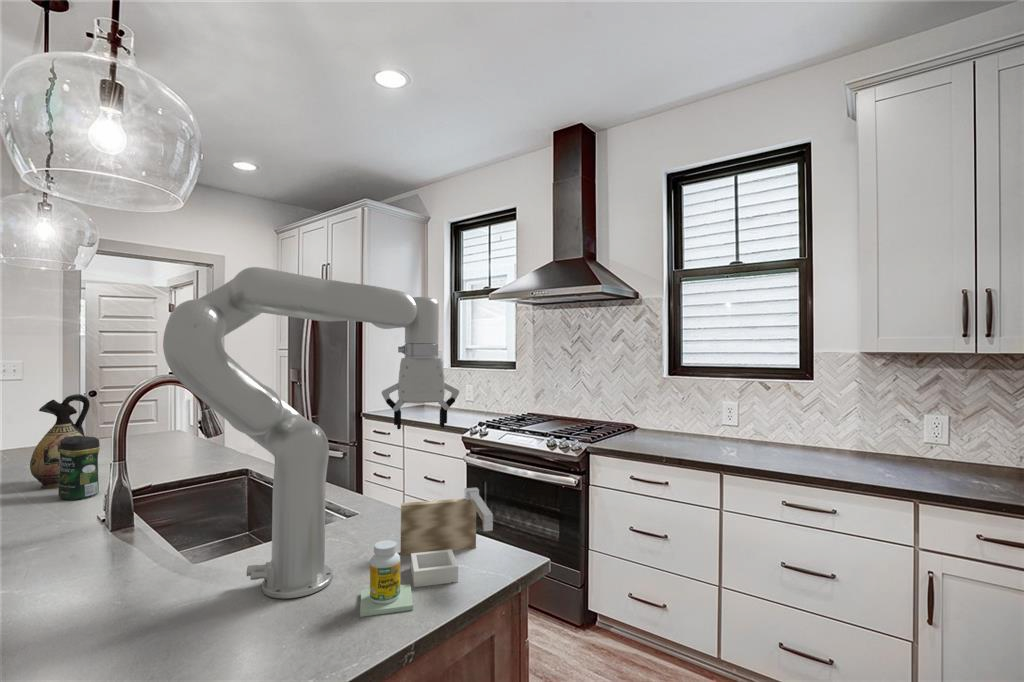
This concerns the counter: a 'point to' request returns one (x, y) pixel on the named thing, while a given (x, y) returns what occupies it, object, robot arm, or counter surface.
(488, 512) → the bar
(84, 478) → the coffee jar
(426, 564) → the hollow square frame
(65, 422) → the ceramic jug
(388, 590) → the supplement bottle
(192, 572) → the counter surface
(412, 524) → the wooden block
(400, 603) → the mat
